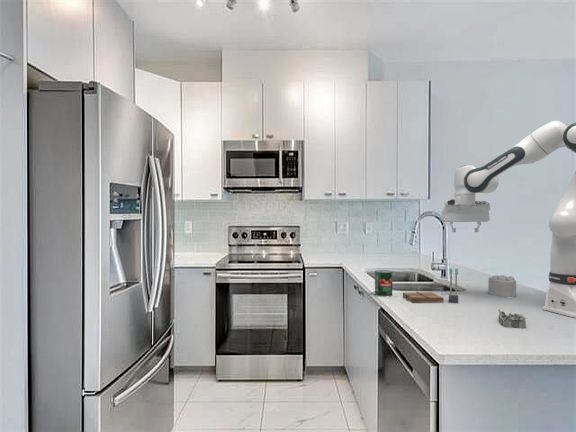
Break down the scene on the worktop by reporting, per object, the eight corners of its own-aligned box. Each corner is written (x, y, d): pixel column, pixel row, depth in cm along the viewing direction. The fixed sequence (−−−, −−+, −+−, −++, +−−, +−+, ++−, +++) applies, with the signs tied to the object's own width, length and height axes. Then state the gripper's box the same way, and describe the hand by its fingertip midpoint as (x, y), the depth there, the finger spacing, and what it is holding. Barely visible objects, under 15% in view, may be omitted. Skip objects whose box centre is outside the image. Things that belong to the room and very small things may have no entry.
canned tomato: (382, 292, 208) (382, 269, 208) (396, 295, 201) (396, 271, 201) (371, 294, 203) (371, 270, 203) (384, 297, 197) (384, 272, 196)
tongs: (458, 303, 184) (458, 269, 184) (448, 302, 185) (449, 269, 185) (457, 301, 187) (458, 268, 187) (448, 301, 188) (449, 268, 188)
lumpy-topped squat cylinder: (508, 292, 209) (508, 274, 209) (521, 298, 196) (521, 278, 196) (485, 292, 210) (485, 274, 210) (497, 297, 197) (497, 278, 197)
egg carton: (497, 320, 157) (497, 308, 157) (520, 322, 154) (521, 310, 154) (502, 327, 147) (502, 315, 147) (527, 329, 144) (527, 316, 144)
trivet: (443, 302, 185) (443, 297, 185) (413, 303, 185) (413, 297, 184) (431, 296, 198) (431, 291, 198) (402, 297, 197) (402, 291, 197)
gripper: (489, 201, 200) (489, 232, 200) (441, 202, 207) (441, 232, 207) (490, 200, 195) (491, 232, 194) (441, 201, 201) (441, 232, 201)
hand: (465, 232), depth 200 cm, fingers open, 8 cm apart
